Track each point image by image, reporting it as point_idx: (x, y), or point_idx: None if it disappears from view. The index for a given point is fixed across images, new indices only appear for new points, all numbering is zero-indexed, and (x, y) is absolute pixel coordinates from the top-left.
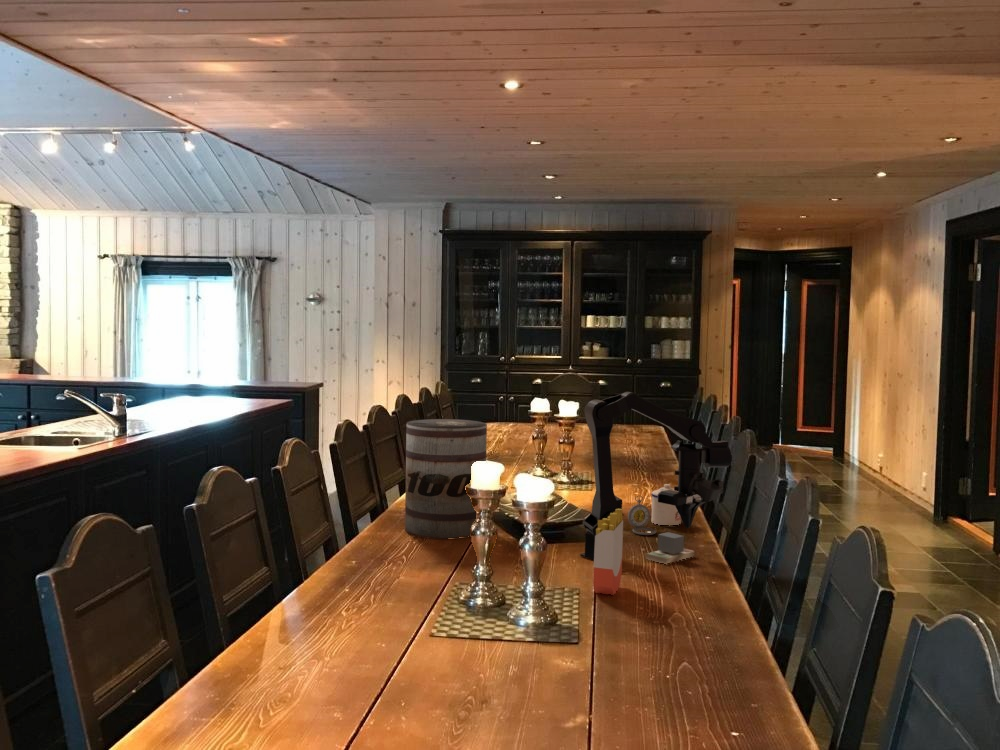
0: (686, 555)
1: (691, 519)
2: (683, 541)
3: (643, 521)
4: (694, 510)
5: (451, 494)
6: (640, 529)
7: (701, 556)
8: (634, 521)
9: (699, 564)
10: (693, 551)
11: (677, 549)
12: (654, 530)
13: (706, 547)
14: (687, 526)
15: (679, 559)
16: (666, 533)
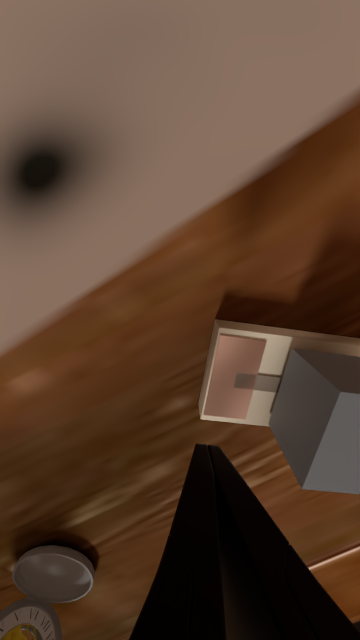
0: (275, 331)
1: (213, 496)
2: (323, 373)
3: (12, 624)
4: (205, 623)
5: None
6: (40, 588)
7: (183, 302)
8: (45, 636)
9: (314, 245)
10: (227, 328)
11: (346, 362)
12: (19, 562)
13: (35, 355)
14: (222, 457)
15: (316, 334)
16: (338, 480)
